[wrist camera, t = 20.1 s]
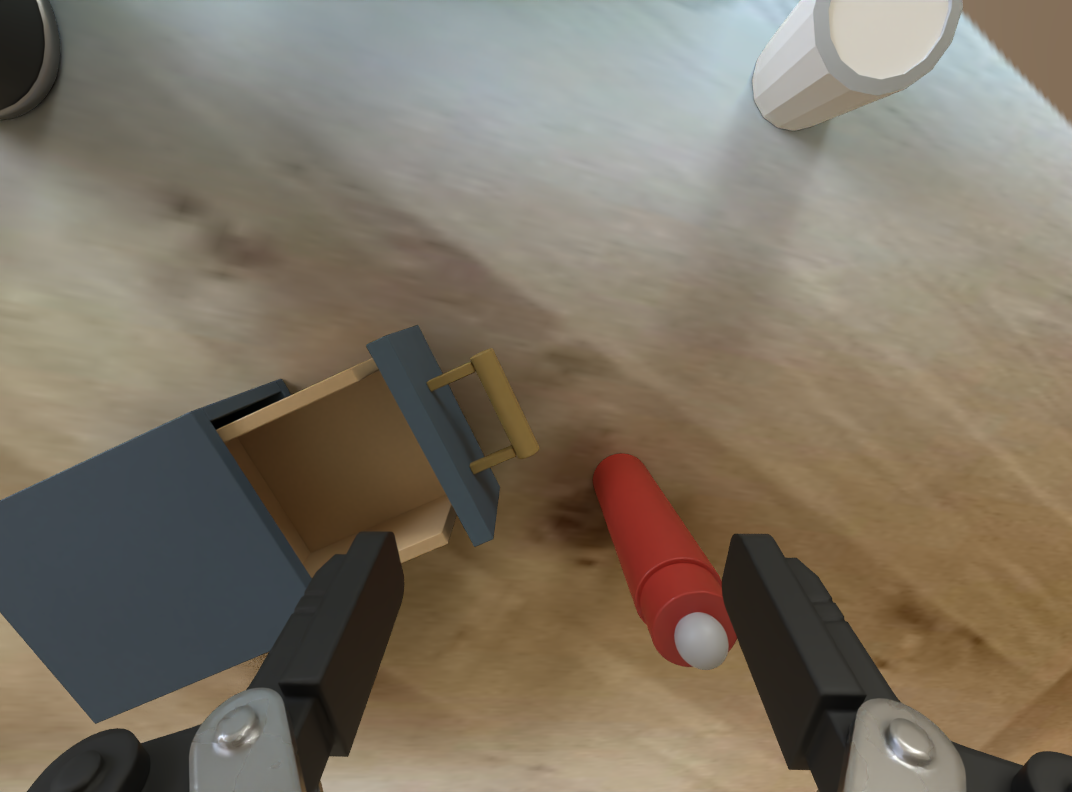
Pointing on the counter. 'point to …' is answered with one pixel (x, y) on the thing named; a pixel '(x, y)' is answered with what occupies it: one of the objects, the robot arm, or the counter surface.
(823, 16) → the white faceted cylinder
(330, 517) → the drawer
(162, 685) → the cabinet
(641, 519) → the pepper mill
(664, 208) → the counter surface
